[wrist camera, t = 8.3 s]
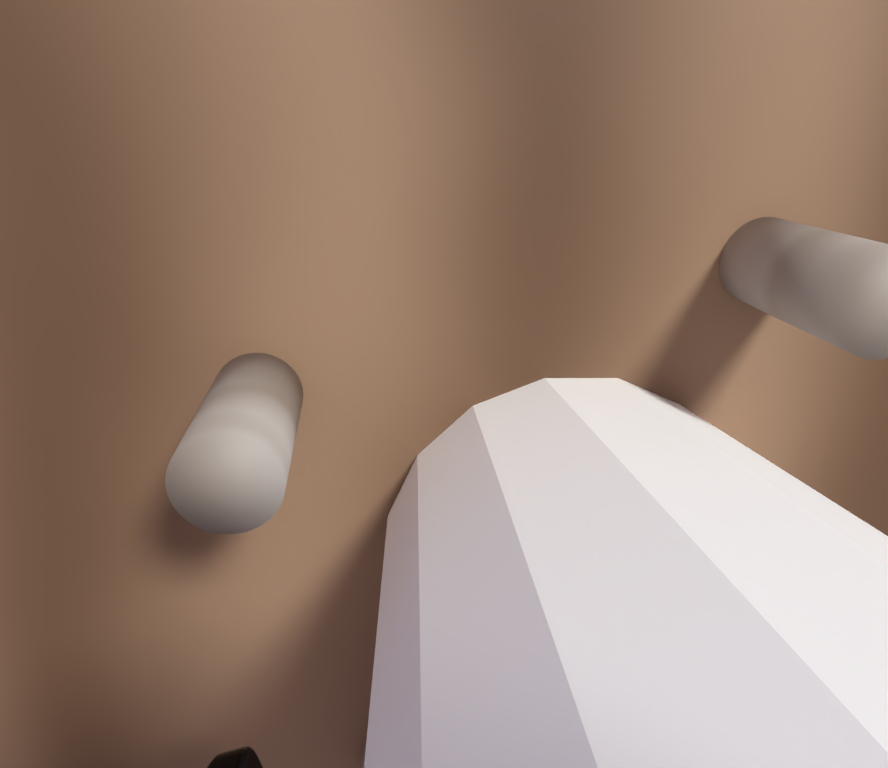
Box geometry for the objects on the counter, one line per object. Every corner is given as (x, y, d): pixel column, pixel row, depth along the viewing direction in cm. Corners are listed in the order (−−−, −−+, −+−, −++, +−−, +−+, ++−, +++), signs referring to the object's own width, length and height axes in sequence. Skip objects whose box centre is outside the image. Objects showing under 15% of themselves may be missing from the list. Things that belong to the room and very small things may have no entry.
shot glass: (852, 482, 11) (1556, 995, 5) (584, 758, 13) (825, 1435, 6) (529, 236, 9) (971, 530, 2) (257, 602, 11) (92, 1373, 4)
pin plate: (1196, -409, 8) (1752, -758, 5) (1035, 750, 16) (1211, 915, 12) (-467, 3, 8) (-1063, -78, 4) (190, 991, 15) (145, 1225, 12)
